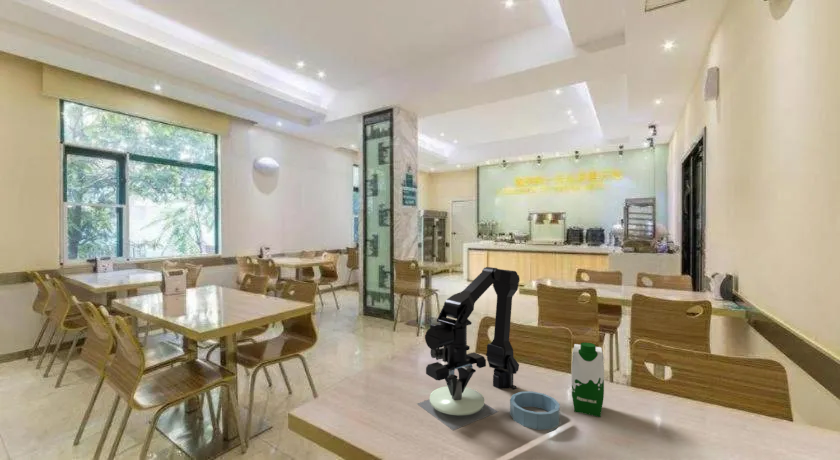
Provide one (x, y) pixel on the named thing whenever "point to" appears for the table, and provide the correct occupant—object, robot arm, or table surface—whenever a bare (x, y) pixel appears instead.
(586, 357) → the milk carton
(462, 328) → the robot arm
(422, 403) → the mat
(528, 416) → the ring
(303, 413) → the table surface
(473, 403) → the lid
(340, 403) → the table surface
